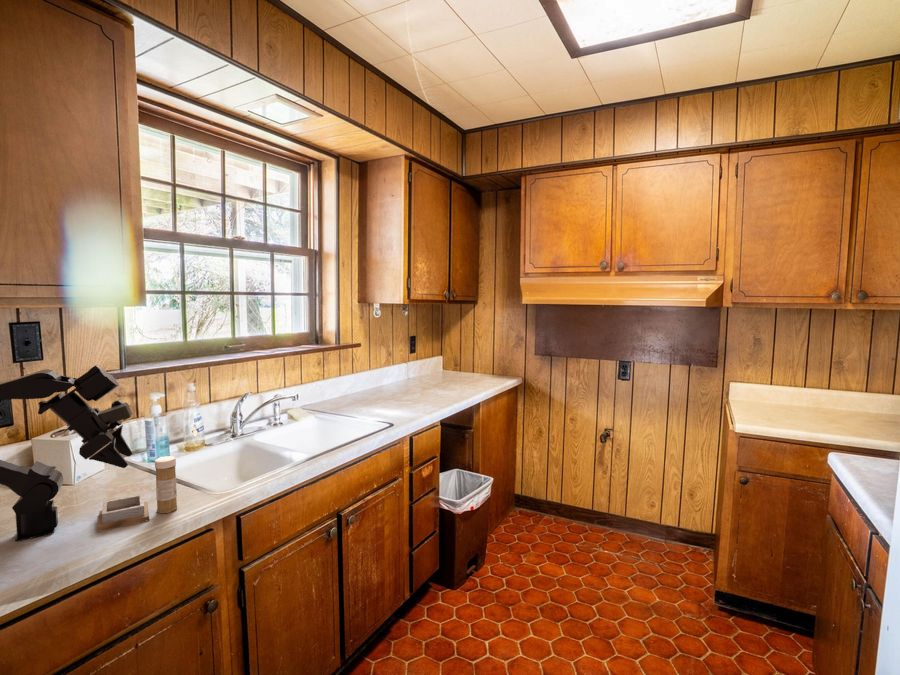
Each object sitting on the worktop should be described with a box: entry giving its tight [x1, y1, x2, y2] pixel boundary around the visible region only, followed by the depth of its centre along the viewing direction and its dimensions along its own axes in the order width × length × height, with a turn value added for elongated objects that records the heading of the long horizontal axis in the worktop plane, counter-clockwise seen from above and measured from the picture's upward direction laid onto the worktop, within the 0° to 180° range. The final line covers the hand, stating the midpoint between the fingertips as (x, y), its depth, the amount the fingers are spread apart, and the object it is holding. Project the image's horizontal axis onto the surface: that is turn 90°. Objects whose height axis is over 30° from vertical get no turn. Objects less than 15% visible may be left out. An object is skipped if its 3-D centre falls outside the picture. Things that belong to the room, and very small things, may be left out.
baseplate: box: [97, 501, 150, 532], centre depth 116 cm, size 10×10×1 cm
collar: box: [102, 493, 145, 524], centre depth 116 cm, size 8×8×2 cm
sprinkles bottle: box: [154, 455, 178, 514], centre depth 120 cm, size 5×5×13 cm
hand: (128, 460), depth 116 cm, fingers open, 9 cm apart
